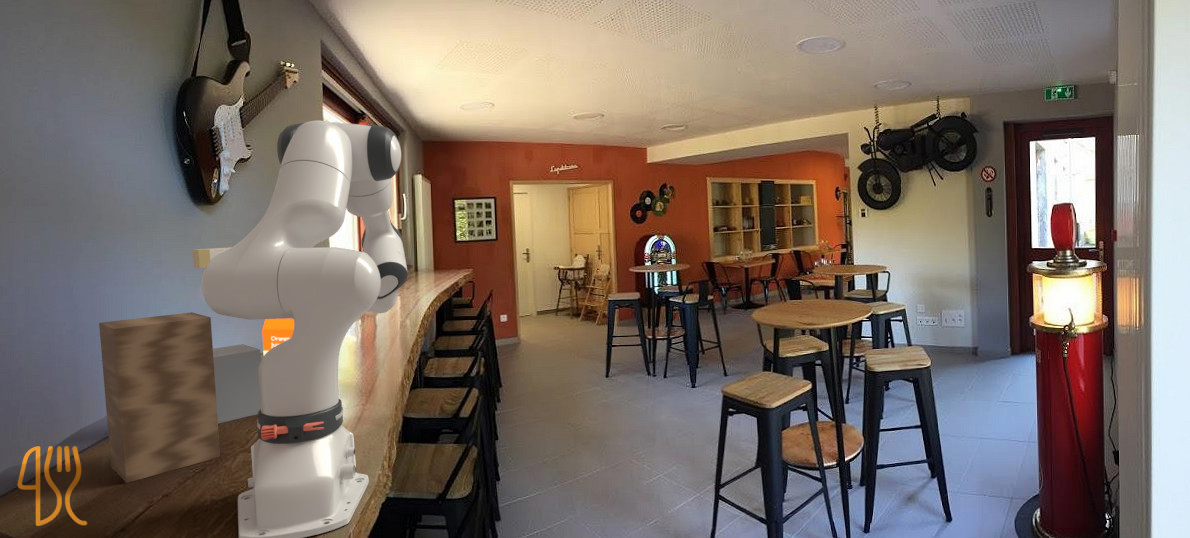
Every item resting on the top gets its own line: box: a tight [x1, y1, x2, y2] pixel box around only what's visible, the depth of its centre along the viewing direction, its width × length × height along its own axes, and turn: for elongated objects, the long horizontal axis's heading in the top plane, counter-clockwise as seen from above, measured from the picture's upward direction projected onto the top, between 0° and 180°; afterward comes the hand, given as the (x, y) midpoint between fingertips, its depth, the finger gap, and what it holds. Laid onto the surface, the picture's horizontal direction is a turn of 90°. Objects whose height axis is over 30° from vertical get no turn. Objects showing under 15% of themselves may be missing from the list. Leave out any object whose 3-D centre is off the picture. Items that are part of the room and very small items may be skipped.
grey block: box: [213, 343, 262, 425], centre depth 135 cm, size 10×10×14 cm
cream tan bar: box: [191, 246, 233, 269], centre depth 129 cm, size 20×4×4 cm, turn 140°
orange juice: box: [261, 319, 294, 356], centre depth 166 cm, size 8×9×20 cm
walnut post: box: [98, 312, 221, 484], centre depth 108 cm, size 14×10×26 cm
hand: (279, 250), depth 134 cm, fingers closed on cream tan bar, 4 cm apart
